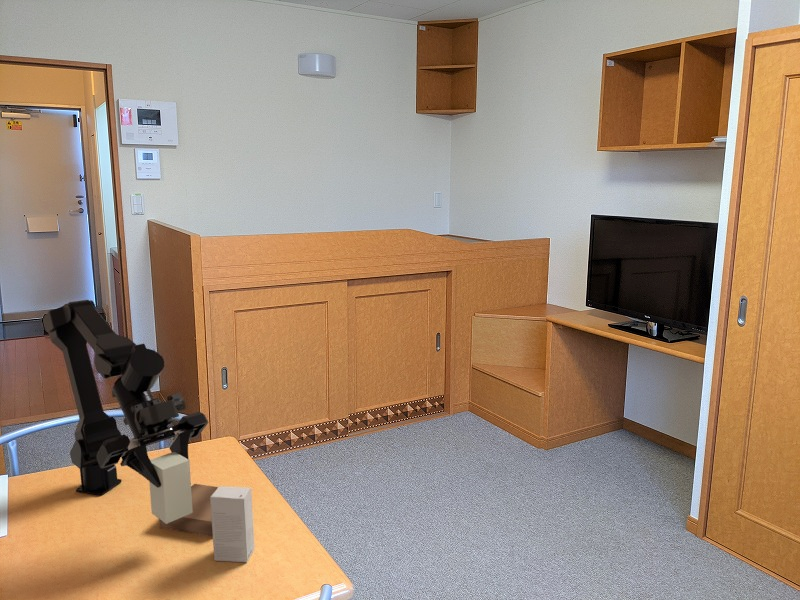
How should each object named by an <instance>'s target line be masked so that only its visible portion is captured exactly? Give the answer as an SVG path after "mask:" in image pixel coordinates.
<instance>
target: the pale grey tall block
mask: <svg viewBox="0 0 800 600" xmlns="http://www.w3.org/2000/svg"><path fill="white" fill-rule="evenodd" d="M150 461H151V463H152V465H153V467H154V469H155V471H156V473H157V474H158V477H159V479H160V482H161V486H160V487H159V488H157V487H156V486H155V485H153V484H152V483H151V482H150V481H148V482H149V493H150V494H149V496H150V508H151V514H152V515H153V516H155V517H156V518H158V519H160V520H162V521H163V522H164V523H166V524H167V523H170V522H172V521H174V520H177V519H179V518H181V517H184V516H186V515H188V514H191V513H193V512H192V495H191V486H192V483H191V482H192V481H191V464H190V459H189V460H188V459H187V458H185V457H183V456H181V455H180V454H178V453H176V452H170V453H167V454H163V455H159V456H157V457H155V458H151V459H150Z"/></svg>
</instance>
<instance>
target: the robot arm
mask: <svg viewBox="0 0 800 600" xmlns="http://www.w3.org/2000/svg"><path fill="white" fill-rule="evenodd" d="M96 307H97V306H96V305H95V302H94V301H93V300H89V299H81V300H75V301H68V303H65V304H63V305H62V306H59V307H58V308H57V307H56V308H52V309H49V310H48V312H47V313H46V314H44V316H43V319H42V321H43V327H44V330H45V332H46V333H48V335H49V339H50V342H51V343H52V344H53V345H54V346H55V347H57V348H58V349H59V350H60V351H61V352H62V354H63V358H64V363H65V366H66V370H67V373H68V374H67V375H68V379H69V382H70V386H71V392H72V395H73V398H74V402H75V406H76V410H77V414H78V419H79V420H78V422H77V424H76V428H75V430H74V434H73V435H74V439H75V441H74V443H73V444H72V447H71V449H70V452H69V455H70V460H71V463H72V464H73V465H74V466H75V467H77V468H78V469H79V473H80V483H81V485H80V486H78V487H76V488H75V491H76V493H84V494H90V495H96V496H103V495H105V494H106V493H107V492H109V491H111V490H112V489H114V488H115V487H116V486H118V485H119V484H121V483H122V481H123V480H122V479H121V478H118V472H117V471H118V470H117V466H116V465H117V464H118V463H119V462H120V466H121V467H128V468H130V469H132V470H133V471H135V472H136V473H138V474H139V475H140V476H142V477H143V478H144V479H146V480H147V481H148V482H149V481H150V482H151V483H152V484H153V485H155V486H156V487H157V488H159V487H160V486H161V482H160V479H159V477H158V474H157V473H156V471H155V469H154V467H153V465H152V463H151V461H150V460H151V459H150V456H149V455H148V449H147V446H150V445H154V444H158V443H161V442H164V441H165V440H169V439H170V442H171V445H170V447H169V450H170V453H172V452H176V453H178V454H180V455H181V456H183V457H185V458H187V459H188V460H190V459H189V440H191V439H194V438H197V437H198V436H200V435H201V433H202V432H203V431H204V429H205V428H206V427H207V425H208V424H209V420H208V418H207V416H206V414H204V413H203V412H201V411H196V412H194V413H193V412H192V413H190V414H187V415H183V416H182V417H181V418H180V420H179V421H178V422H177V424H175V425H172V426H169V425H170V424H172V422H173V421H174V420H173V419H176V418H178V417H180V414H179V412H181V411H184V410H186V406H187V405H186V401H185V399H184V397H183V396H182V393H181V392H177V393H173V394H170V395H168V396H166V397H167V398H166V399H167V400H166V401H161V399H160V398H158V397H157V398H155V397H154V394H153V393H152V390H151V389H153V387H154V386H155V384H156V382H157V380H158V379H159V377H160V376H161V374H162V372H163V370H164V368H165V360H164V358H163V356H162V355H161V354H160V353H158V352H157V351H156V350H154V349H151V348H147V345H146V344H145V343H140V344H139V343H138V344H136V343H135V342H134V341H133V340H131V339H130V338H129V337H126V336H123V335H119V334H117V333H116V331H114V329H113V328H112V327H111V325H109V324H108V322H107V320H106V319H104V317H103V316H102V315H101V313H100V312H99V311H98V310H97V309H96ZM87 344H88V346H90V348H91V349H92V351H94V368H95V370H96V372H97V373H98V374H99V375H101V377H102V378H103V379H110V378H115V377H118V378H117V379H116V380H115V381H114V383H113V386H112V390H111V397H112V398H116V400H117V403H118V405H119V407H120V409H121V411H122V413H123V415H124V419H123V423H124V425H125V426H127V425H128V427H129V429H130V431H131V433H132V435H133V438H131V439H130V437H129V435H126V434H121V431H120V430H119V429H118V424H117V420H116V418H115V417H113V416H110V415H108V414H107V413H106V412H105V411H104V408H103V404H102V401H101V396H100V393H99V389H98V385H97V381H96V376H95V373H94V369H93V365H92V362H91V357H90V353H89V349H88V346H87ZM119 376H120V377H119ZM120 459H122V460H121V461H120Z"/></svg>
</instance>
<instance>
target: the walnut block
mask: <svg viewBox="0 0 800 600" xmlns="http://www.w3.org/2000/svg"><path fill="white" fill-rule="evenodd" d="M218 487H219V486H213V485H206V484H200V483H199V484H198V483H194V484H191V495H192V512H193V513H191V514H188V515H186V516H184V517H181V518H179V519H177V520H174V521H172V522H170V523H167V524H166V523H164V522H163V521H162V520H160V519H159V518H158V519H159V523H158V524H159V529H163V530H169V531H176V532H180V533H181V532H183V533H188V534H194V535H199V536H206V537H211V538H213V532H212V517H211V503H210V497H211V496H212V494H213V493H214V492H215V491H216V489H217V488H218Z"/></svg>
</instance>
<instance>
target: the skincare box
mask: <svg viewBox="0 0 800 600" xmlns="http://www.w3.org/2000/svg"><path fill="white" fill-rule="evenodd" d="M217 487H218V488H217V489H216V491H215V492H214V493H213V494H212V496H211V497H210V503H211V517H212V532H213V537H212V545H213V558H214V561H215V562H218V561H219V562H233V563H234V562H236V563H248V561H249V560H250V558H251V556H252V554H253V553H254V551H255V533H254V532H255V531H254V515H253V499H252V498H253V497H252V496H253V495H252V487H250V486H249V487H248V486H246V487H244V486H220V485H219V486H217Z"/></svg>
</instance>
